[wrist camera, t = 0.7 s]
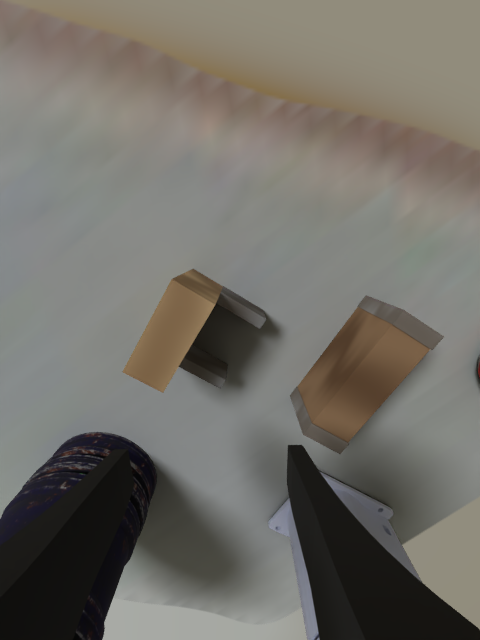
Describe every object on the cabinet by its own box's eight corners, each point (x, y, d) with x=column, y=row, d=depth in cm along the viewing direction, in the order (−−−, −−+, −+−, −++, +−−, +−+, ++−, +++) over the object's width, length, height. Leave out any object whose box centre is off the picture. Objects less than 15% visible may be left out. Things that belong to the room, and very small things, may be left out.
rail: (365, 295, 19) (404, 310, 15) (397, 316, 19) (444, 336, 15) (290, 395, 21) (303, 434, 17) (319, 412, 22) (340, 454, 17)
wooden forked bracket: (263, 310, 19) (273, 337, 13) (222, 372, 21) (215, 420, 15) (193, 268, 18) (172, 278, 13) (156, 336, 20) (122, 372, 14)
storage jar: (69, 413, 22) (-258, 735, 7) (174, 456, 23) (67, 801, 9) (38, 492, 24) (-252, 848, 10) (135, 527, 26) (1, 887, 11)
